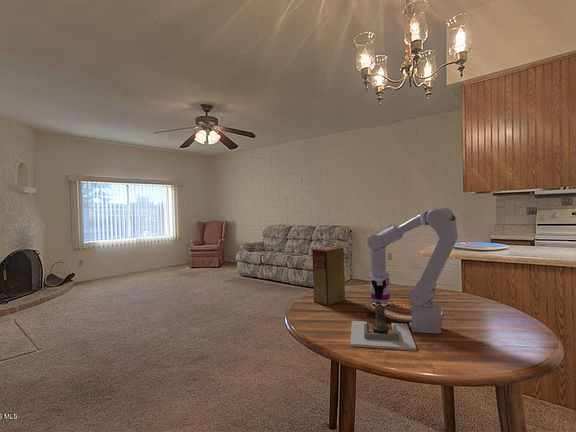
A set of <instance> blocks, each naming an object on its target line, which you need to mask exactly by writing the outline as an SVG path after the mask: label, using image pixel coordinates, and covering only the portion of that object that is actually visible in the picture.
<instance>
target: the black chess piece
mask: <svg viewBox="0 0 576 432" xmlns="http://www.w3.org/2000/svg"><path fill="white" fill-rule="evenodd" d="M374 317H375V323H374V324H372V325H371V328H372V331H373V333H381V334H389V330H390V326H389V325H388V324H386V317H387V316H386V313H385V307H384V306H382V305H381V303H379V305H377V306H375V315H374Z"/></svg>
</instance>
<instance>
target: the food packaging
mask: <svg viewBox="0 0 576 432" xmlns="http://www.w3.org/2000/svg"><path fill="white" fill-rule="evenodd" d="M311 254H312V255H311V257H312V283H313V284H312V285H313V303H316V304H319V305H322V306H326V307H329V306H331V305H334V304H337V303H340V302H343V301H345V300H346V289H345V288H346V287H345V263H344V262H345V261H344V259H345V258H344V257H345V256H344V247H340V246H326V247H320V248H313V249H311Z"/></svg>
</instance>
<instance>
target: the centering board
mask: <svg viewBox="0 0 576 432" xmlns="http://www.w3.org/2000/svg"><path fill="white" fill-rule="evenodd" d="M408 325H409V324H407V323H403V322H401V323H399V322H391V325H390V326H391V328H392V332H393V333H387V334H381V333H374V332H368V324H367V321H361V320H351V329H350V341H349V342H350V343H349V345H350V347H357V348H358V347H359V348H360V347H361V348H370V349H371V348H372V349H386V350H398V351H399V350H401V351H412V352H416V351H417V347H416V346H417V345H416V344H415V341H414V338H413V336H412V333H411V331H410V328H409V326H408Z"/></svg>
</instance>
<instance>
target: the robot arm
mask: <svg viewBox="0 0 576 432" xmlns="http://www.w3.org/2000/svg"><path fill="white" fill-rule="evenodd" d="M421 226H430V227H431V228H432V229H433V230H434V231H435V233H436V235H437V237H438V238H439V239H438V241H437V243H436V245H435V248H434V250H433V252H432V254H431V256H430V258H429V260H428V262H427V264H426V267H425V269H424V271H423V273H422V275H421V277H420V279H419V280H418V281H417V283H416V284H415V286H414V287H413V288H412V289H410V290H409V291H408V299H409V301H410V303H411V304H410V305H411V306H410V307H411V308H410V309H411V322H409V323H408V325H409V327H410V329H411V332H413V333H426V334H440V335H441V334H442V314H441V309H440V305H438V304H434V301H433V299H434V298H435V297H436V296H435V295H436V288H437V281H438V279H439V278H440V275H441V273H442V271H443V270H444V267H445V265H446V264H447V261H448V259H449V257H450V255H451V253H452V252H453V249H454V247H455V245H456V242H457V241H458V238H459V237H458V236H459V234H458V229H457V218H456V216H455V214H454V213H453V211H452V210H451V209H450V208H448V207H441V208H438V207H437V208H436V207H435V208H432V209H429V210H428V211H424V212H421V213H420V214H418V215H416V216H414V217H412V218H411V219H408V220H407V221H405V222H403V223H402V224H400V225H396V224H389V225H387V228H385V229H384V230H382V231H381V230H379V231H378V232H377V234H371V235H370V236H369V237H368V239H367V247H368V248H369V249H370V274H371V275H370V274H368V275H367V278H369V279H370V278H372V279H373V280H371V281H370V284H371V283H372V285H373V287H374V291H375V296H376V299H380V300H382V296H383V291H384V288H385V286H386V280H385V279H386V278H387V276H386V271H387V269H386V268H387V267H386V266H387V262H386V260H387V258H386V248H387V247H388V246H389V245H391V244H393V243H395V242H398V241H399V240H401V239H403V237H404V234H405V233H408V232H410V231H412V230H414V229H416V228H418V227H421Z"/></svg>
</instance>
